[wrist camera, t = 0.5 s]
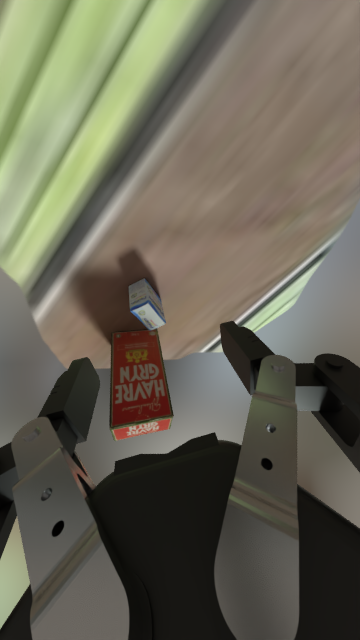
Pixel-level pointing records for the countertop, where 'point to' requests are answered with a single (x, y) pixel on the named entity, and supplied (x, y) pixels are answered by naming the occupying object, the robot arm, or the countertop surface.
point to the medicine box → (146, 304)
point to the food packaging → (138, 385)
